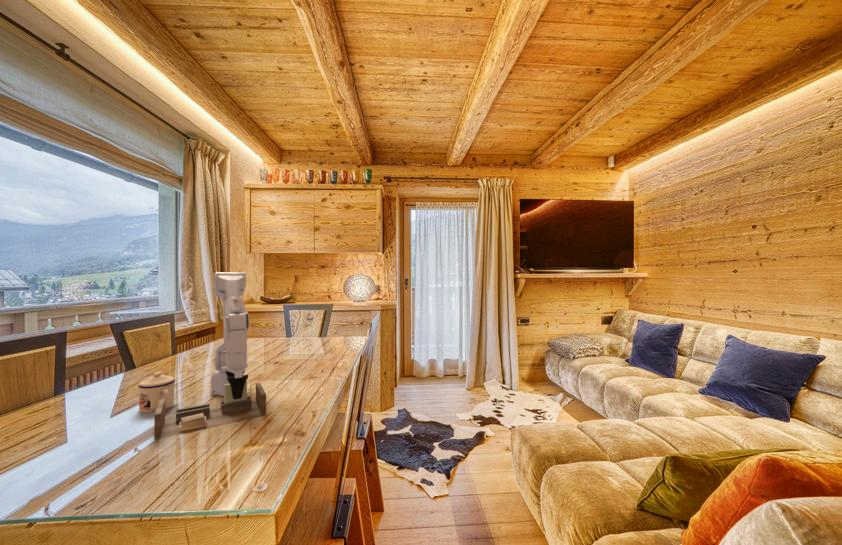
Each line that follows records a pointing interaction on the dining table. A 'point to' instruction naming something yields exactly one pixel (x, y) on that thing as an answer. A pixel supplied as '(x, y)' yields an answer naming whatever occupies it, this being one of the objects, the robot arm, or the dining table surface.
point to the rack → (210, 414)
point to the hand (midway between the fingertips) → (236, 395)
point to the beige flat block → (228, 394)
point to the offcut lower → (192, 426)
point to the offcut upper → (192, 419)
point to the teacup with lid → (156, 392)
